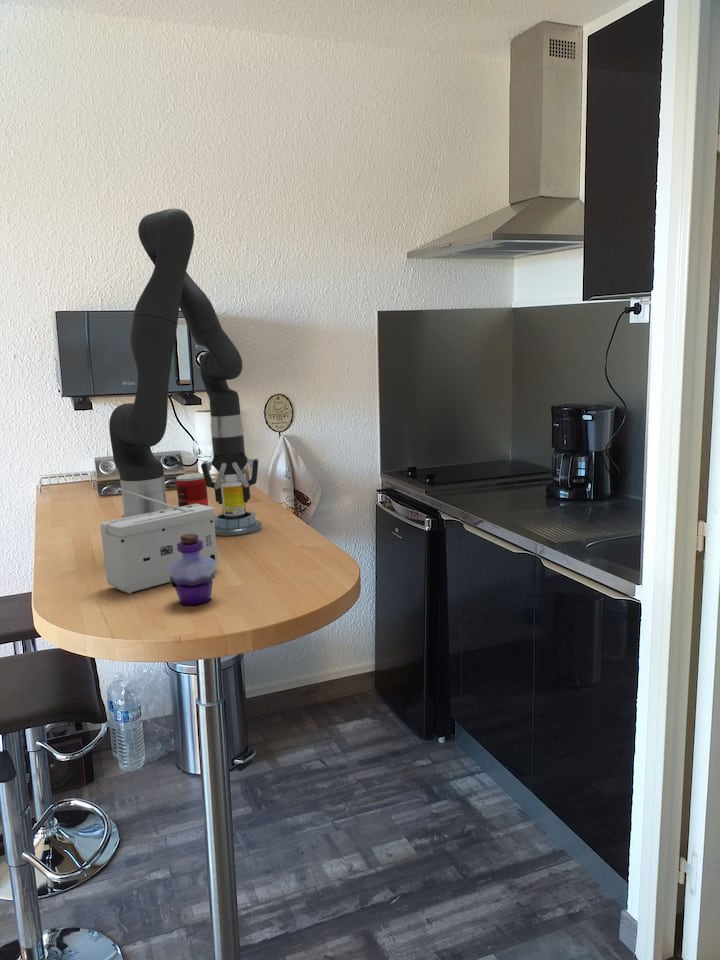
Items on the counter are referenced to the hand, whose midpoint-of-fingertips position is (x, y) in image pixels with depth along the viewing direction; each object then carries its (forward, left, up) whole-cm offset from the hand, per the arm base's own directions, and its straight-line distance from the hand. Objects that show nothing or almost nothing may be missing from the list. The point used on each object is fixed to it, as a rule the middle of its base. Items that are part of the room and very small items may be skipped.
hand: (233, 502), depth 184 cm
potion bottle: (-47, -24, -7) cm, 53 cm away
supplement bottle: (0, 0, -3) cm, 3 cm away
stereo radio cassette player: (-38, -10, -7) cm, 40 cm away
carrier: (0, 0, -7) cm, 7 cm away
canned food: (+11, +21, -7) cm, 25 cm away
